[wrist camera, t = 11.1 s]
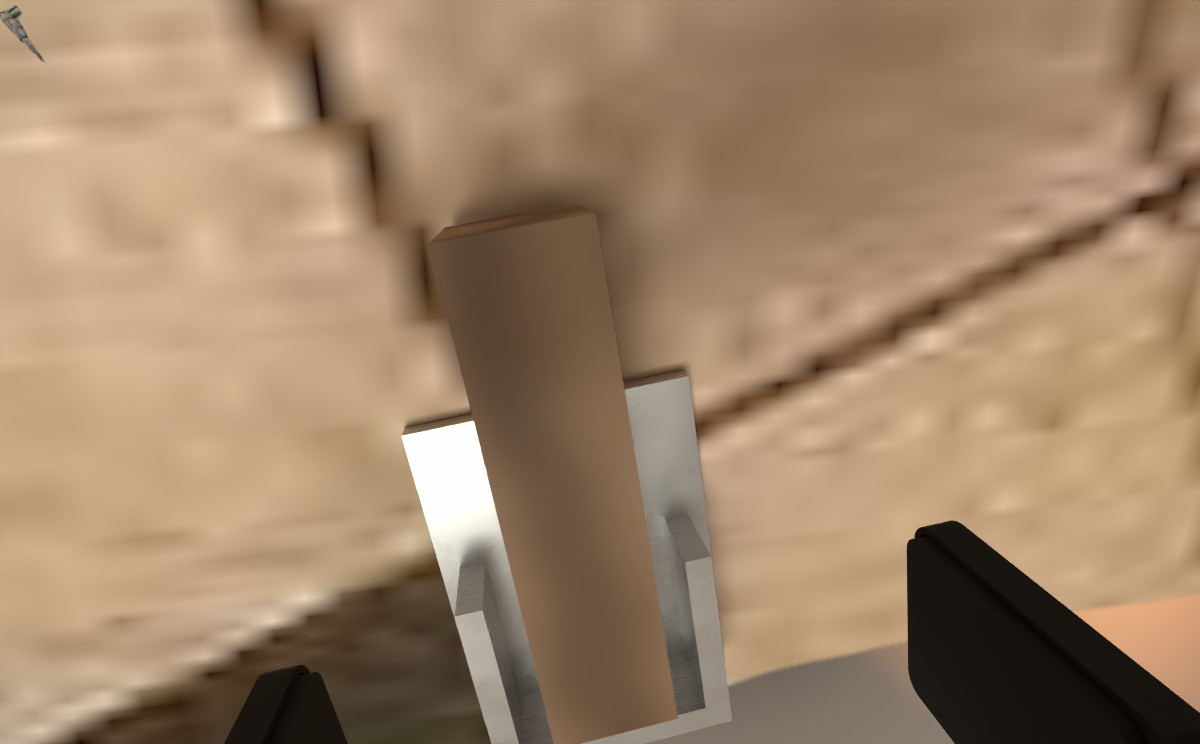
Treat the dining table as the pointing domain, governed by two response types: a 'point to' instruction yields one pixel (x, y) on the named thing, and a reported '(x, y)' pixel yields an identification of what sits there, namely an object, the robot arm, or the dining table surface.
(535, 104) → the dining table surface
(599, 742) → the cup bracket
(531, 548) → the walnut rail
